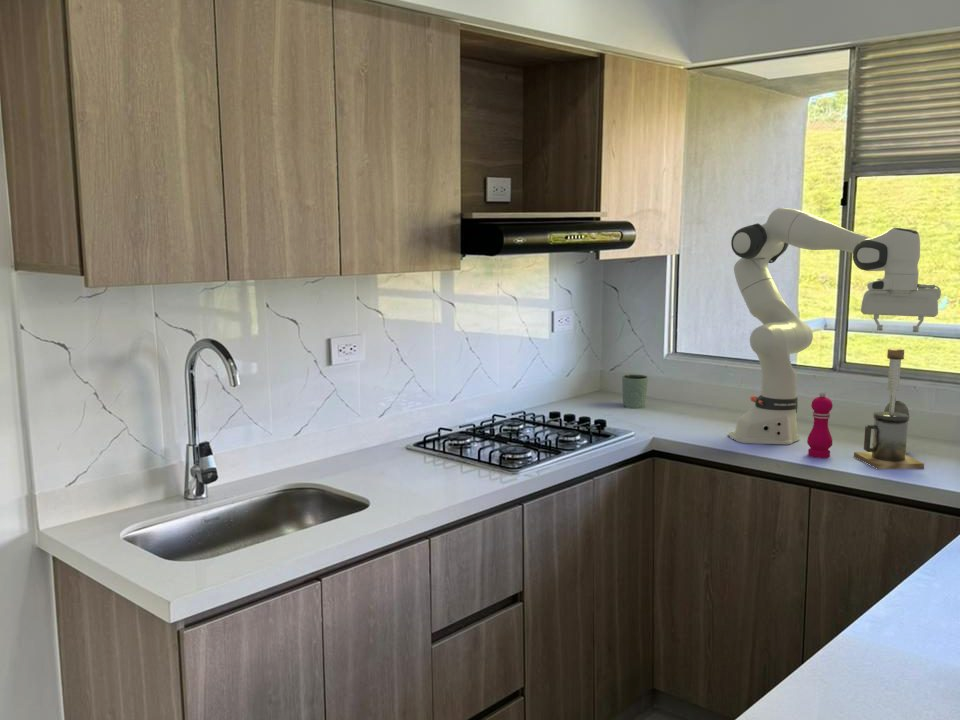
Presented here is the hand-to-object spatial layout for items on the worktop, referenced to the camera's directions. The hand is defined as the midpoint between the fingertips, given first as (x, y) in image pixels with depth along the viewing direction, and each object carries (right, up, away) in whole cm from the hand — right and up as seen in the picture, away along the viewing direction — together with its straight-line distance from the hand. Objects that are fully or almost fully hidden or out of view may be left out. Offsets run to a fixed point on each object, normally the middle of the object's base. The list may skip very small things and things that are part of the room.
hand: (897, 331), depth 251 cm
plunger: (0, -17, +3) cm, 18 cm away
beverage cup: (+9, -37, +21) cm, 44 cm away
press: (-1, -38, +6) cm, 38 cm away
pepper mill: (-18, -38, +14) cm, 44 cm away
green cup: (-61, -27, +89) cm, 111 cm away
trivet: (0, -39, +6) cm, 40 cm away
